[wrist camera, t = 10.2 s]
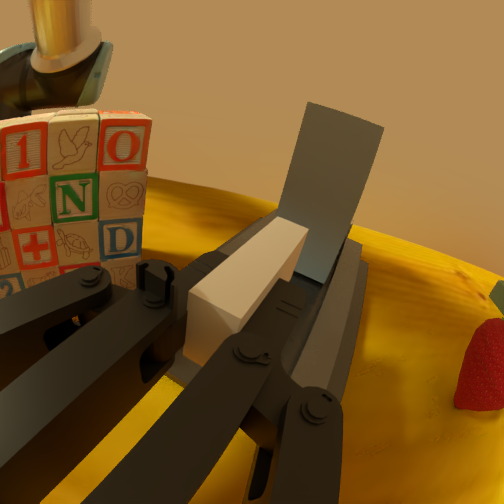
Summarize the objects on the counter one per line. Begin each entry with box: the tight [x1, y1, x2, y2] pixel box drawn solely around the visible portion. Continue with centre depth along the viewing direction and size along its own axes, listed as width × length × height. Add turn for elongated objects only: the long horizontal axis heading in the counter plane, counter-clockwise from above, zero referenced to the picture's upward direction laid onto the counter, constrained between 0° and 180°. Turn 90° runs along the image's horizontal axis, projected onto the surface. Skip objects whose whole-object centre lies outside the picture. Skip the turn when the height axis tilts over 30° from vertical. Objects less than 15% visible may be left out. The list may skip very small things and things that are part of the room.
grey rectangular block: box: [275, 102, 384, 284], centre depth 23 cm, size 6×5×14 cm
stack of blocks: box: [0, 109, 152, 299], centre depth 12 cm, size 21×6×12 cm, turn 123°
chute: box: [164, 209, 368, 403], centre depth 21 cm, size 14×23×5 cm, turn 154°
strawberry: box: [454, 317, 504, 411], centre depth 12 cm, size 6×8×10 cm
